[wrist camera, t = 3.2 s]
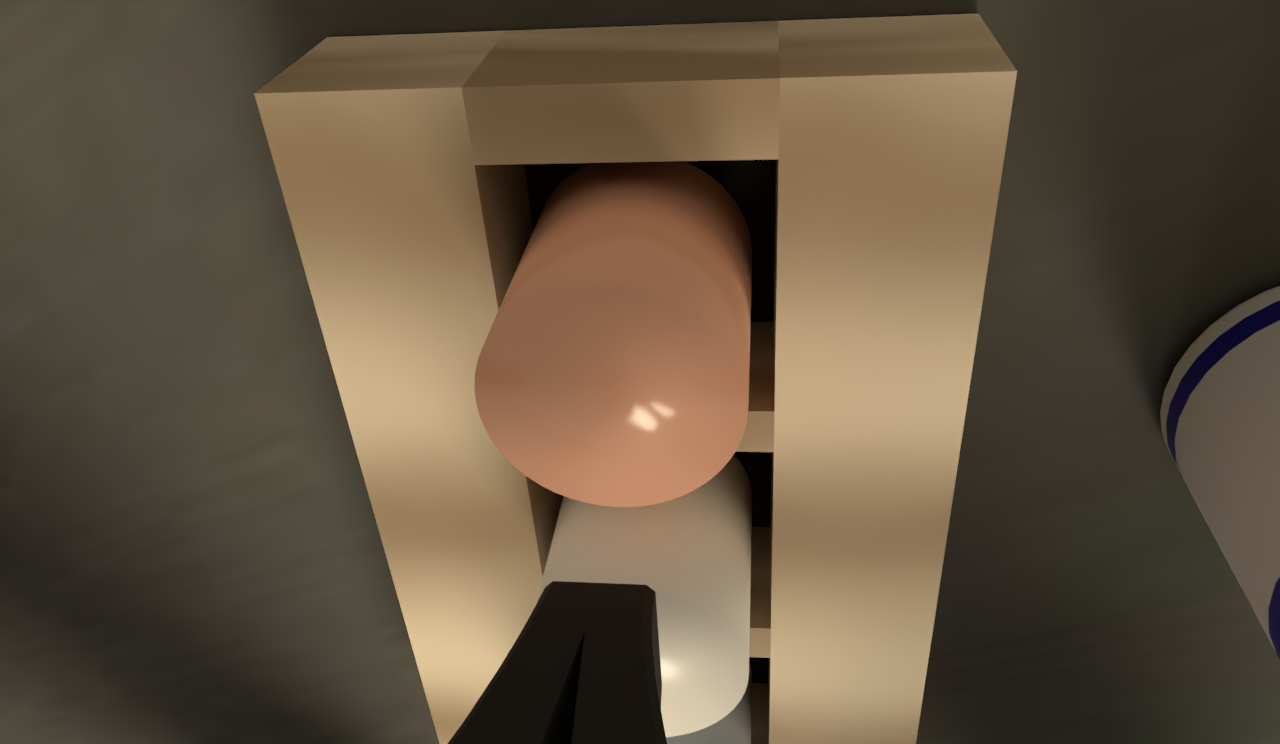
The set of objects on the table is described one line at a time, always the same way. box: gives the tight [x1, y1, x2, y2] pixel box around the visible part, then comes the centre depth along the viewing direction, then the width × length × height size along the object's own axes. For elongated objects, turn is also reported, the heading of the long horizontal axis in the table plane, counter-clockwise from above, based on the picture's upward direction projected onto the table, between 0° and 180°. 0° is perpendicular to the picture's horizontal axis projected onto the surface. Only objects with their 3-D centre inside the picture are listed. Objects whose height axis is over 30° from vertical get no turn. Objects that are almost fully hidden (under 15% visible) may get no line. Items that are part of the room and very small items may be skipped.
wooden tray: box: [254, 13, 1017, 744], centre depth 20 cm, size 18×11×3 cm, turn 4°
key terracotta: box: [474, 161, 752, 507], centre depth 15 cm, size 4×4×4 cm
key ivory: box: [536, 455, 752, 737], centre depth 18 cm, size 4×4×4 cm
